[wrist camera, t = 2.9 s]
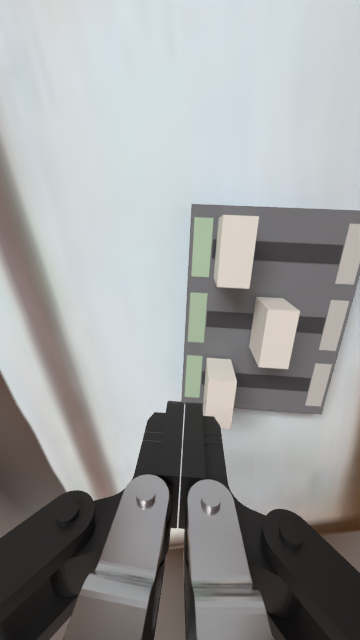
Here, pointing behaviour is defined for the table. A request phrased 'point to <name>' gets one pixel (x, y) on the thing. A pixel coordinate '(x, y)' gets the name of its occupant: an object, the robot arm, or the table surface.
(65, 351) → the table surface
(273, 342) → the block
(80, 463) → the table surface
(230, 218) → the block
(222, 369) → the breaker far
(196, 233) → the breaker panel
